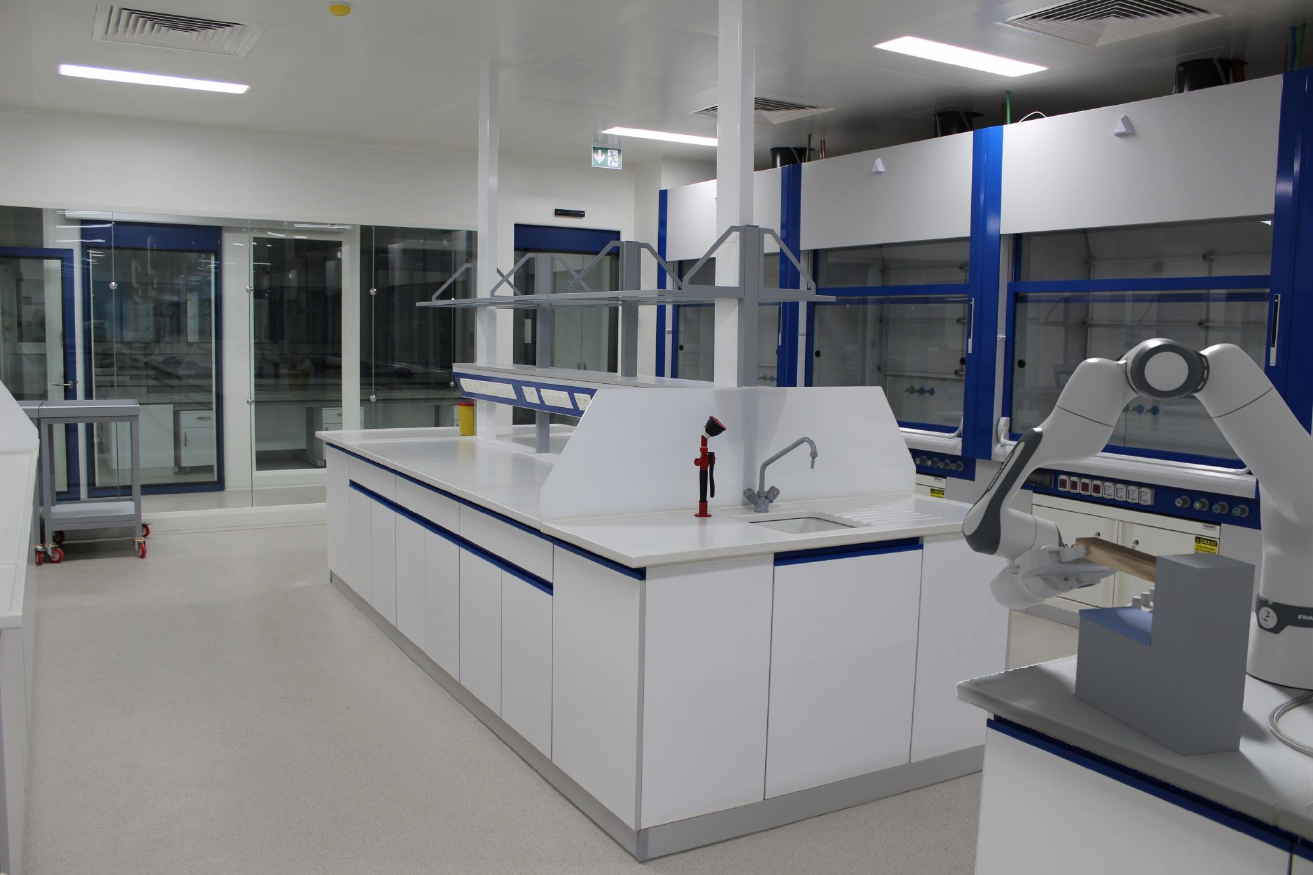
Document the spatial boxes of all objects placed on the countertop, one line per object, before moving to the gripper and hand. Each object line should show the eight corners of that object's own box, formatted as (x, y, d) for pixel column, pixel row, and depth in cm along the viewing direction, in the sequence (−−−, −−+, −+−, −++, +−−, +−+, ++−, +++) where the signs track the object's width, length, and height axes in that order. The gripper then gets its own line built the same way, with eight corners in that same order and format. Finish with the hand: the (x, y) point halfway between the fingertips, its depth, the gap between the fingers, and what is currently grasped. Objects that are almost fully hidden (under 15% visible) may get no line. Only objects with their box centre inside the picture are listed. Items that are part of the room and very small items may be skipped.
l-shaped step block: (1125, 690, 170) (1136, 531, 166) (1240, 749, 146) (1256, 564, 143) (1073, 695, 167) (1083, 533, 164) (1182, 755, 144) (1197, 568, 141)
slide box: (1094, 553, 172) (1095, 537, 172) (1181, 583, 153) (1183, 564, 152) (1074, 554, 171) (1075, 537, 171) (1160, 585, 152) (1161, 566, 151)
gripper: (998, 556, 178) (1042, 532, 166) (1094, 551, 184) (1144, 528, 171) (1006, 590, 176) (1051, 568, 164) (1103, 584, 181) (1155, 563, 169)
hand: (1100, 548), depth 168 cm, fingers closed on slide box, 4 cm apart
